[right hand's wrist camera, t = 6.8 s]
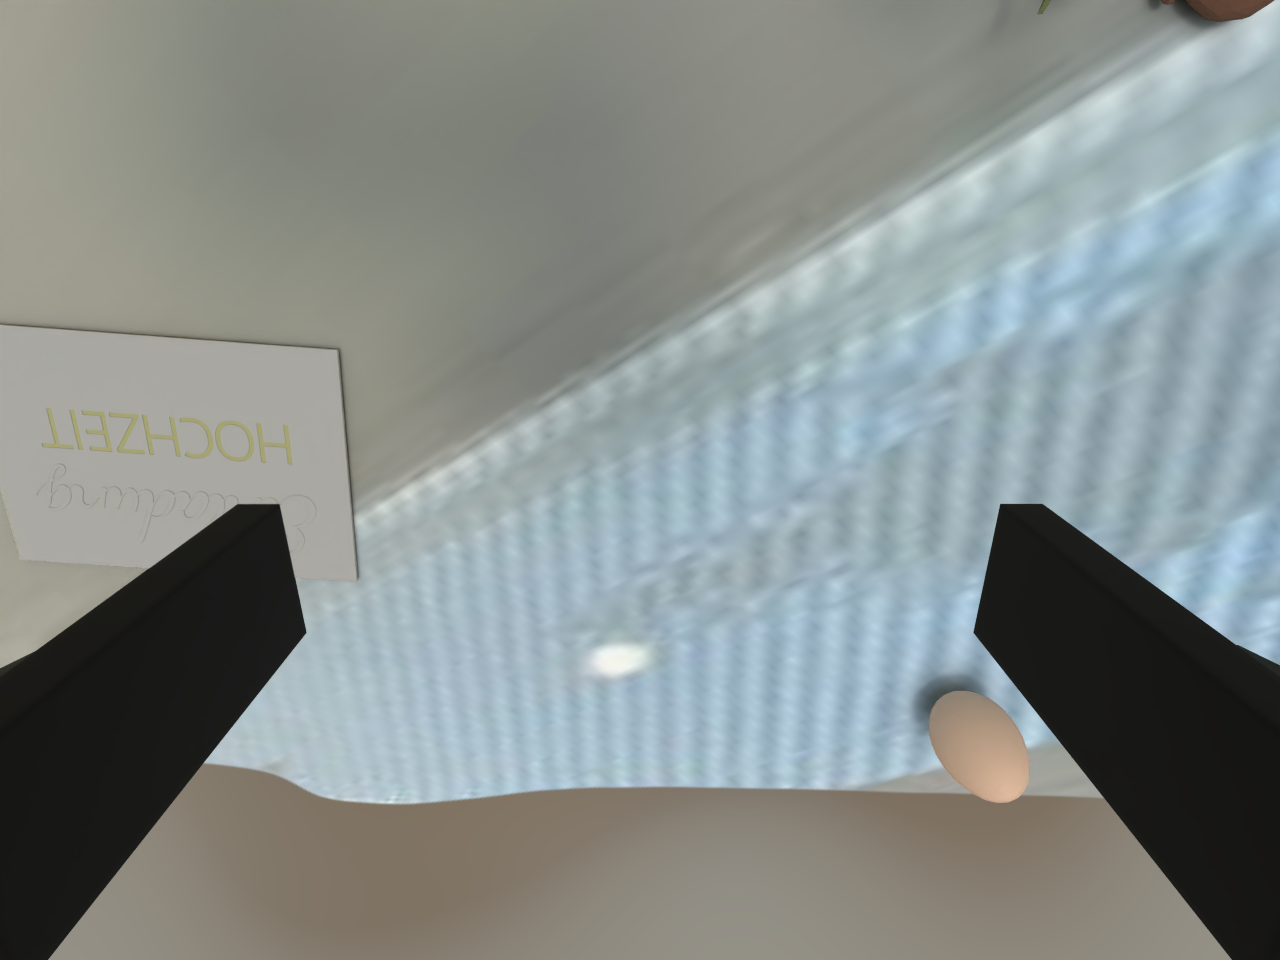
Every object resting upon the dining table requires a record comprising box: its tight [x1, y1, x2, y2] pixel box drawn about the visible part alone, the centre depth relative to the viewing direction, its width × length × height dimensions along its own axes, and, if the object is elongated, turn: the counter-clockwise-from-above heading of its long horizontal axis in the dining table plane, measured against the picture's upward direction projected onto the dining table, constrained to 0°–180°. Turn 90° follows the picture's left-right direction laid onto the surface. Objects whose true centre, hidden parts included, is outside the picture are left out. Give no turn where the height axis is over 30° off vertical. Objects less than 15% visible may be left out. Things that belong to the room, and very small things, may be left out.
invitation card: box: [0, 324, 358, 582], centre depth 41 cm, size 21×1×15 cm
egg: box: [929, 691, 1030, 803], centre depth 44 cm, size 5×5×8 cm
